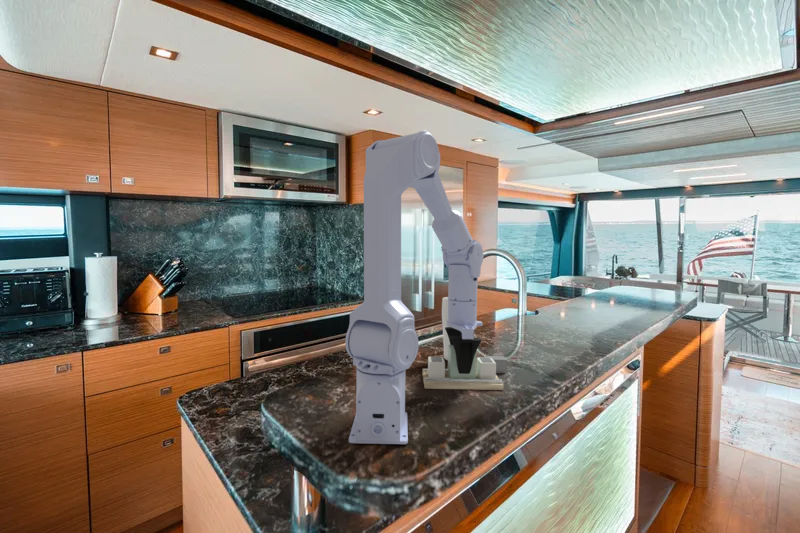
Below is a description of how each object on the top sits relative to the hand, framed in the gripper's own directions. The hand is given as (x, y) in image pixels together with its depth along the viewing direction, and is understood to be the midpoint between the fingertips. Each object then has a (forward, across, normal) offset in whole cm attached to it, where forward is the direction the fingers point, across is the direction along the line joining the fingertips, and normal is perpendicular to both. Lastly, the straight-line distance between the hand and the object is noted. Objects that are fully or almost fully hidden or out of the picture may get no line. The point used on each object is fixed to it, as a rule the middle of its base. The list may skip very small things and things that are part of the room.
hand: (461, 367), depth 76 cm
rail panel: (+3, 0, 0) cm, 3 cm away
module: (+2, 0, 0) cm, 2 cm away
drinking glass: (+3, +16, -1) cm, 16 cm away
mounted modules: (+2, 0, 0) cm, 2 cm away
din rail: (+3, 0, 0) cm, 3 cm away
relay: (+3, +8, -9) cm, 12 cm away
